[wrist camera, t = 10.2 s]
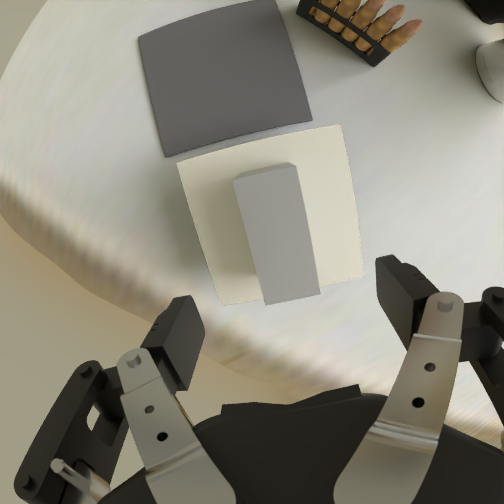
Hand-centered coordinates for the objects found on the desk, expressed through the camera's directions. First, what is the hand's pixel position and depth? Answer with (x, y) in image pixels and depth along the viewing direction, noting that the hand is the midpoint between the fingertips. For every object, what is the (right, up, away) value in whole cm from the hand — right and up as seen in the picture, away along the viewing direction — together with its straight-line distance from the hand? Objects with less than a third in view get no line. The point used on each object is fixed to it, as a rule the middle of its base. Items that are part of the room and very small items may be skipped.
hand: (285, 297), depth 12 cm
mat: (-5, +21, +13) cm, 25 cm away
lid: (+1, +5, +12) cm, 13 cm away
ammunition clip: (+8, +26, +11) cm, 29 cm away
